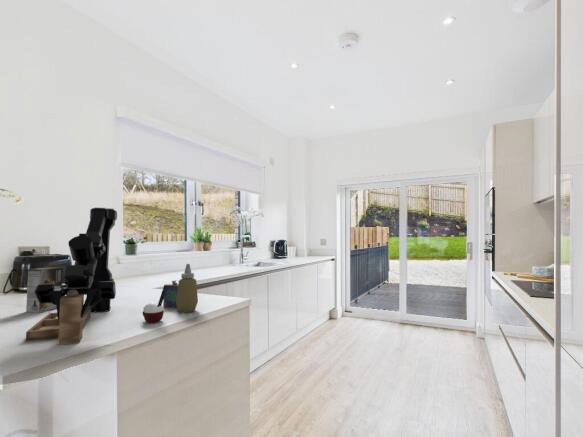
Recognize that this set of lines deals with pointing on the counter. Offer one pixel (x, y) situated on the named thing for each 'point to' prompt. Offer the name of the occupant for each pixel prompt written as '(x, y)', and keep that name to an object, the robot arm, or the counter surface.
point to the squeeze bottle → (187, 292)
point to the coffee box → (41, 277)
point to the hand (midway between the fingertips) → (70, 317)
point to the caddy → (49, 327)
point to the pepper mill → (71, 318)
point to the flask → (171, 295)
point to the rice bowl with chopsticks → (154, 309)
